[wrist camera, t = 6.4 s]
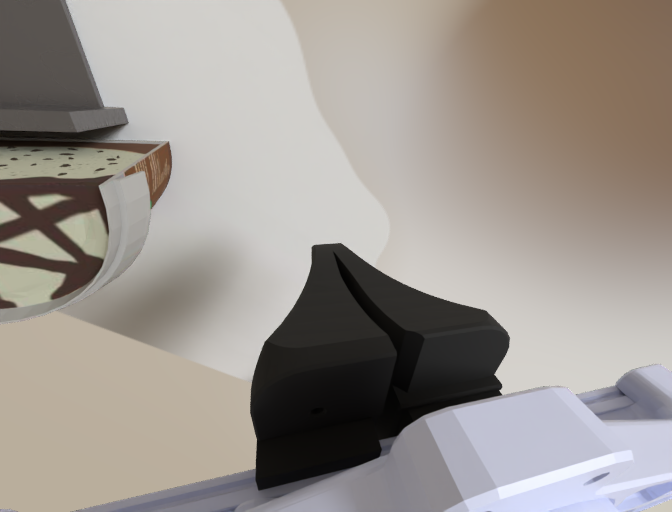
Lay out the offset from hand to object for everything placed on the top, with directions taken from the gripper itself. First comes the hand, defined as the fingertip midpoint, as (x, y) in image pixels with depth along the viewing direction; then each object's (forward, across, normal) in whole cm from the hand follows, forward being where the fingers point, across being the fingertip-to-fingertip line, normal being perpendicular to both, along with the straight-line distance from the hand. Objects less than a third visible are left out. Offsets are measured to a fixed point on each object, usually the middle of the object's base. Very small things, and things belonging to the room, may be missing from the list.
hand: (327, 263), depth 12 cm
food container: (+11, +13, -1) cm, 17 cm away
